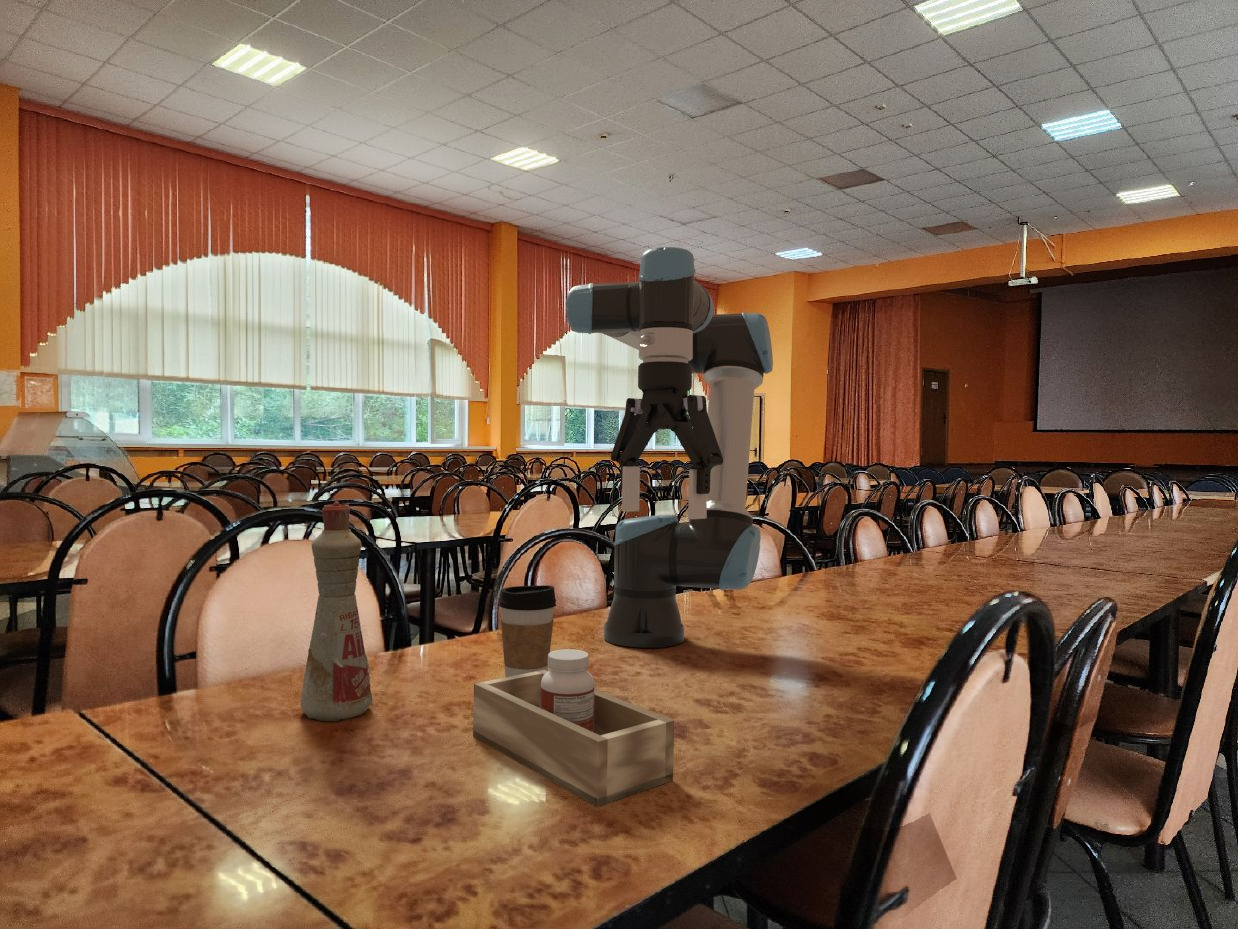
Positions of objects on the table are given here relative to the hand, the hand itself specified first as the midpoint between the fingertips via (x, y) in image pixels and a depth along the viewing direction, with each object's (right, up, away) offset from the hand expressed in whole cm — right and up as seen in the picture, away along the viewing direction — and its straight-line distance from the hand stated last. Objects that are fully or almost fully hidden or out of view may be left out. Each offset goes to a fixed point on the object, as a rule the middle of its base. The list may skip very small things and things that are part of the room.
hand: (662, 515), depth 111 cm
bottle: (-44, -26, -6) cm, 51 cm away
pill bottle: (-12, -26, -20) cm, 35 cm away
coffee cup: (-20, -26, +6) cm, 33 cm away
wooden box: (-12, -27, -20) cm, 35 cm away
